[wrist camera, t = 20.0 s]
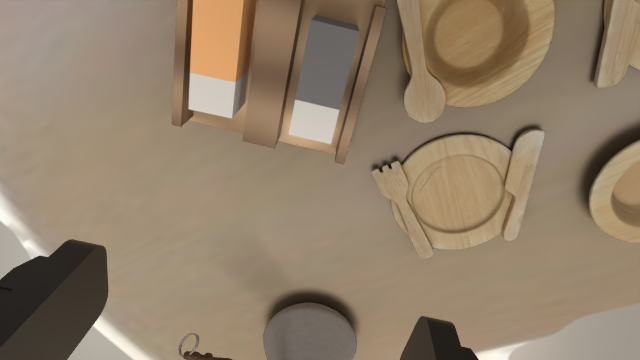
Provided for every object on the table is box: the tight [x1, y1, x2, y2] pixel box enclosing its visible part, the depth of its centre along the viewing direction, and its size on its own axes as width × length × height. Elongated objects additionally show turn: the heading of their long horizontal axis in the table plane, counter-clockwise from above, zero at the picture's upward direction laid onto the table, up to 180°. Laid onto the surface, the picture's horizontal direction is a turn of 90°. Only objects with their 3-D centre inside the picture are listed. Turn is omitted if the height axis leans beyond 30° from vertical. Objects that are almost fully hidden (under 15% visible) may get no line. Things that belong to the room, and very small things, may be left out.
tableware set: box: [371, 0, 640, 258], centre depth 33 cm, size 35×29×4 cm
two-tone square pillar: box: [289, 15, 359, 144], centre depth 32 cm, size 9×4×4 cm, turn 168°
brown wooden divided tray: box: [172, 0, 387, 164], centre depth 33 cm, size 14×16×4 cm
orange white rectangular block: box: [188, 0, 257, 118], centre depth 31 cm, size 9×4×4 cm, turn 169°
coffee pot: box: [178, 302, 357, 360], centre depth 41 cm, size 21×12×15 cm, turn 36°
